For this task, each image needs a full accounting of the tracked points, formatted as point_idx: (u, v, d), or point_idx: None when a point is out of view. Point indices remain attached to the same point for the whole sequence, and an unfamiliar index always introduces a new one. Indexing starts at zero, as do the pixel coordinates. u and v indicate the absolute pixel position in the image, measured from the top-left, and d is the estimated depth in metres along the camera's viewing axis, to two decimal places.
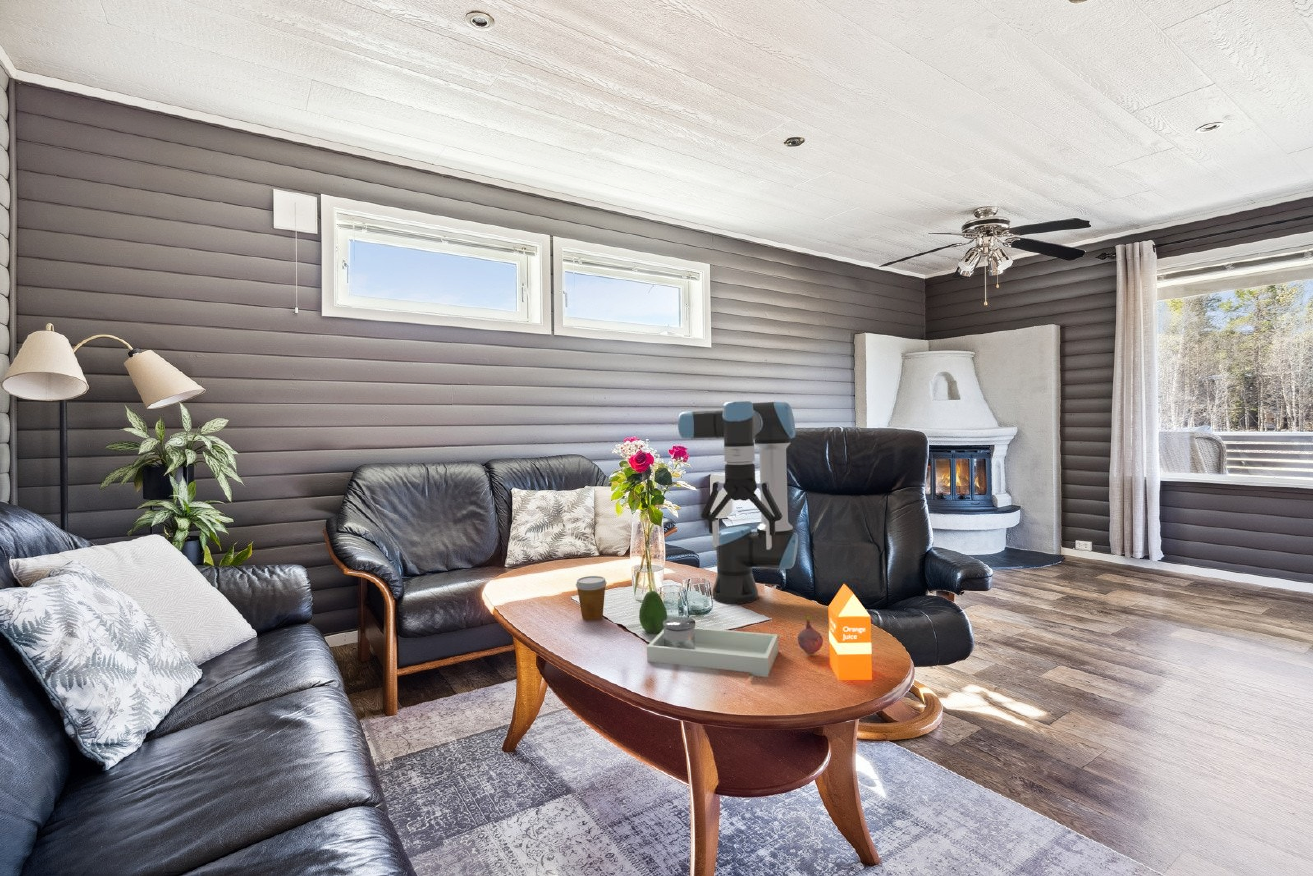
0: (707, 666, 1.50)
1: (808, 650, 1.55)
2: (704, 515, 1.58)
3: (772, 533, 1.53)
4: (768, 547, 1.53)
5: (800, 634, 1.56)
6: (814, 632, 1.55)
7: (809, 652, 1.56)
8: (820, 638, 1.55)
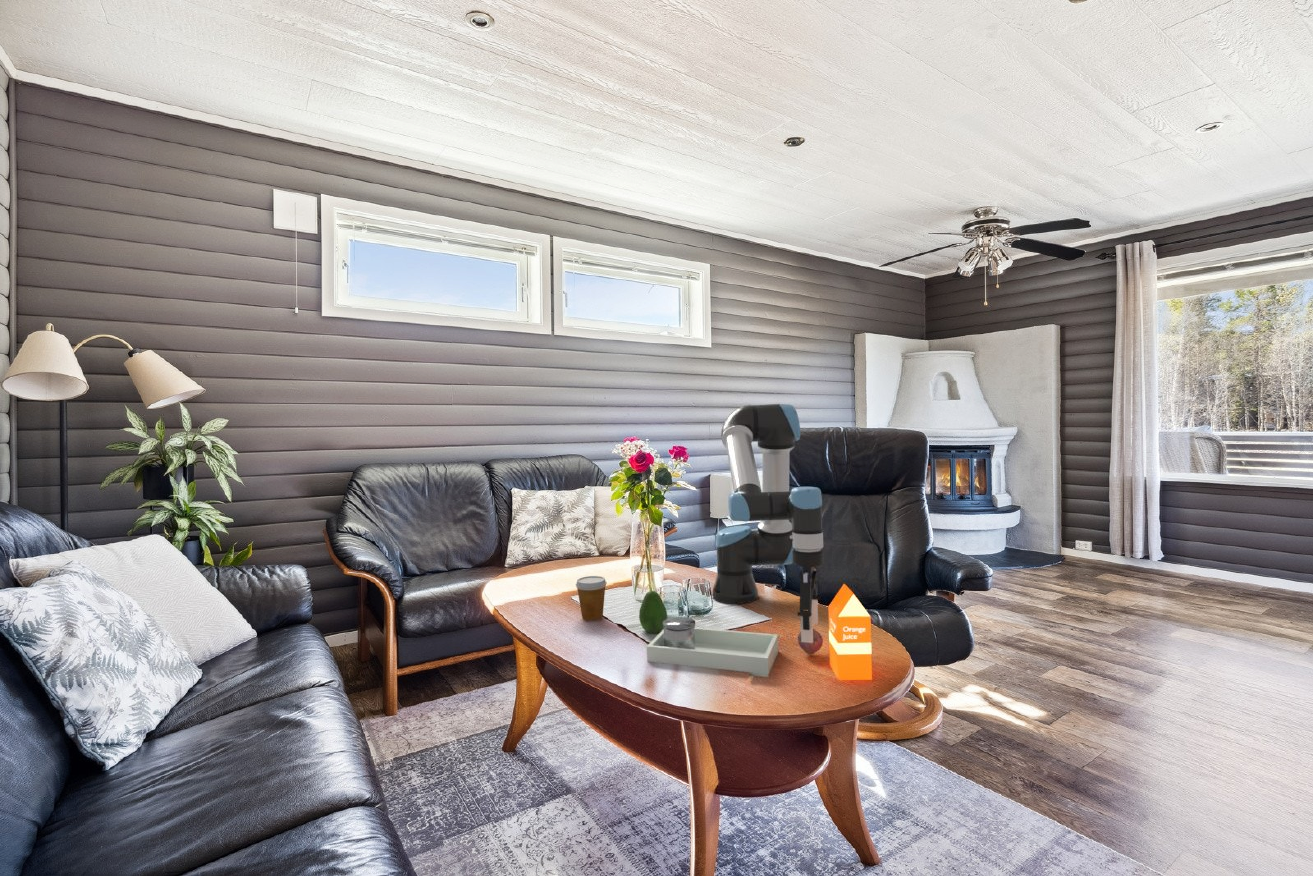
0: (707, 666, 1.50)
1: (808, 650, 1.55)
2: None
3: (803, 627, 1.49)
4: (801, 639, 1.50)
5: (800, 634, 1.56)
6: (814, 632, 1.55)
7: (809, 652, 1.56)
8: (820, 638, 1.55)
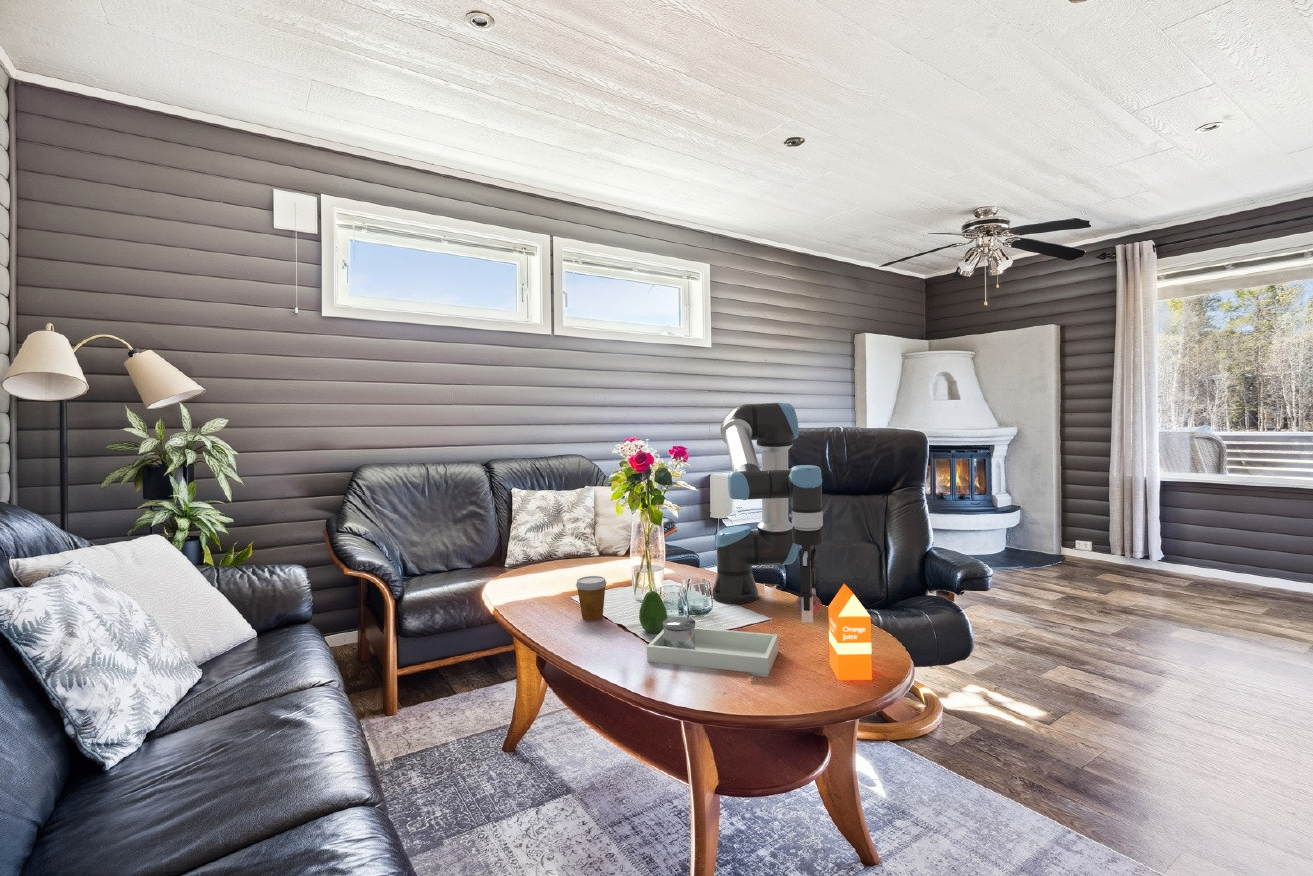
0: (707, 666, 1.50)
1: None
2: None
3: (803, 608, 1.53)
4: None
5: (799, 598, 1.57)
6: (813, 596, 1.56)
7: None
8: (819, 602, 1.55)
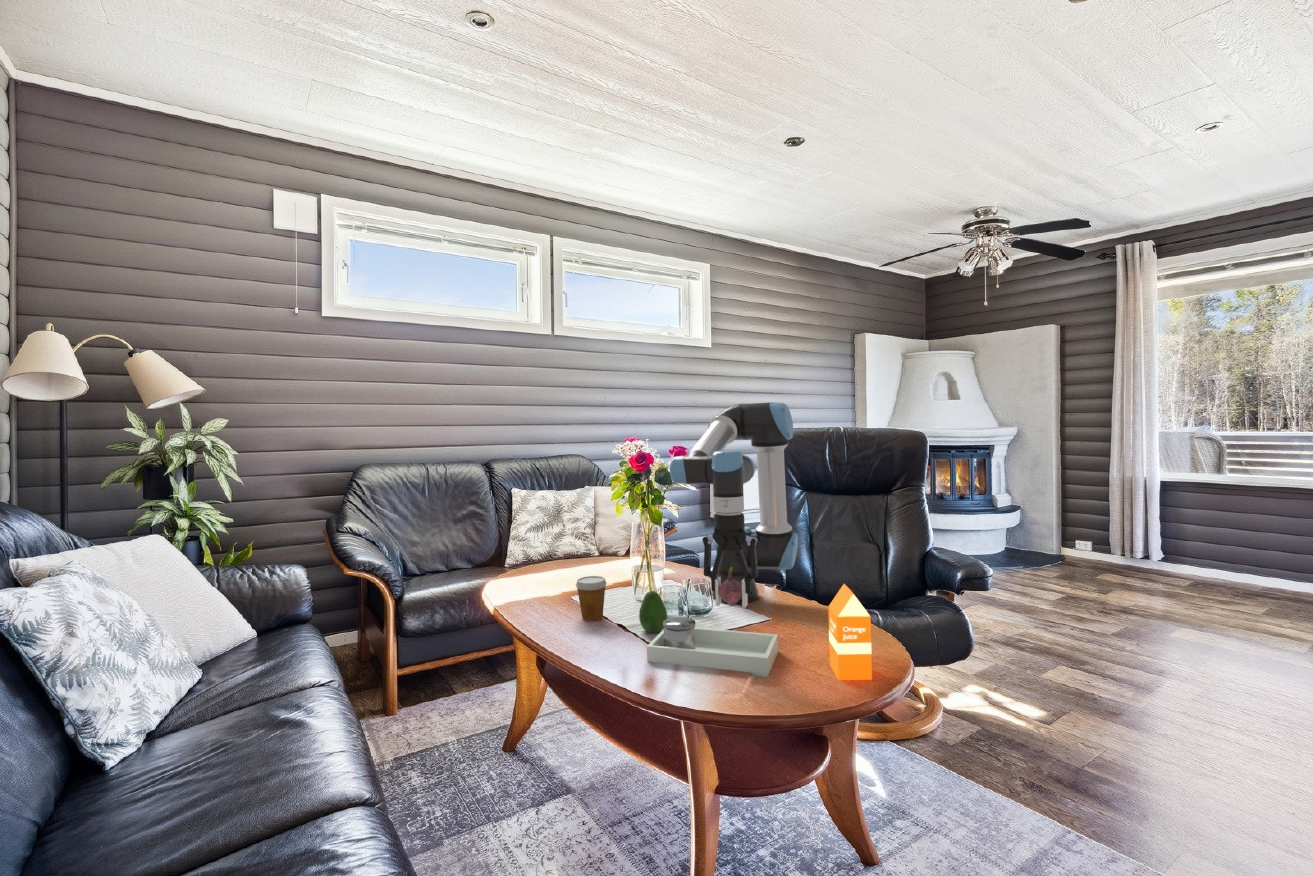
0: (707, 666, 1.50)
1: (739, 599, 1.54)
2: (706, 572, 1.56)
3: (748, 591, 1.53)
4: (744, 605, 1.53)
5: (733, 587, 1.53)
6: None
7: (737, 601, 1.54)
8: None
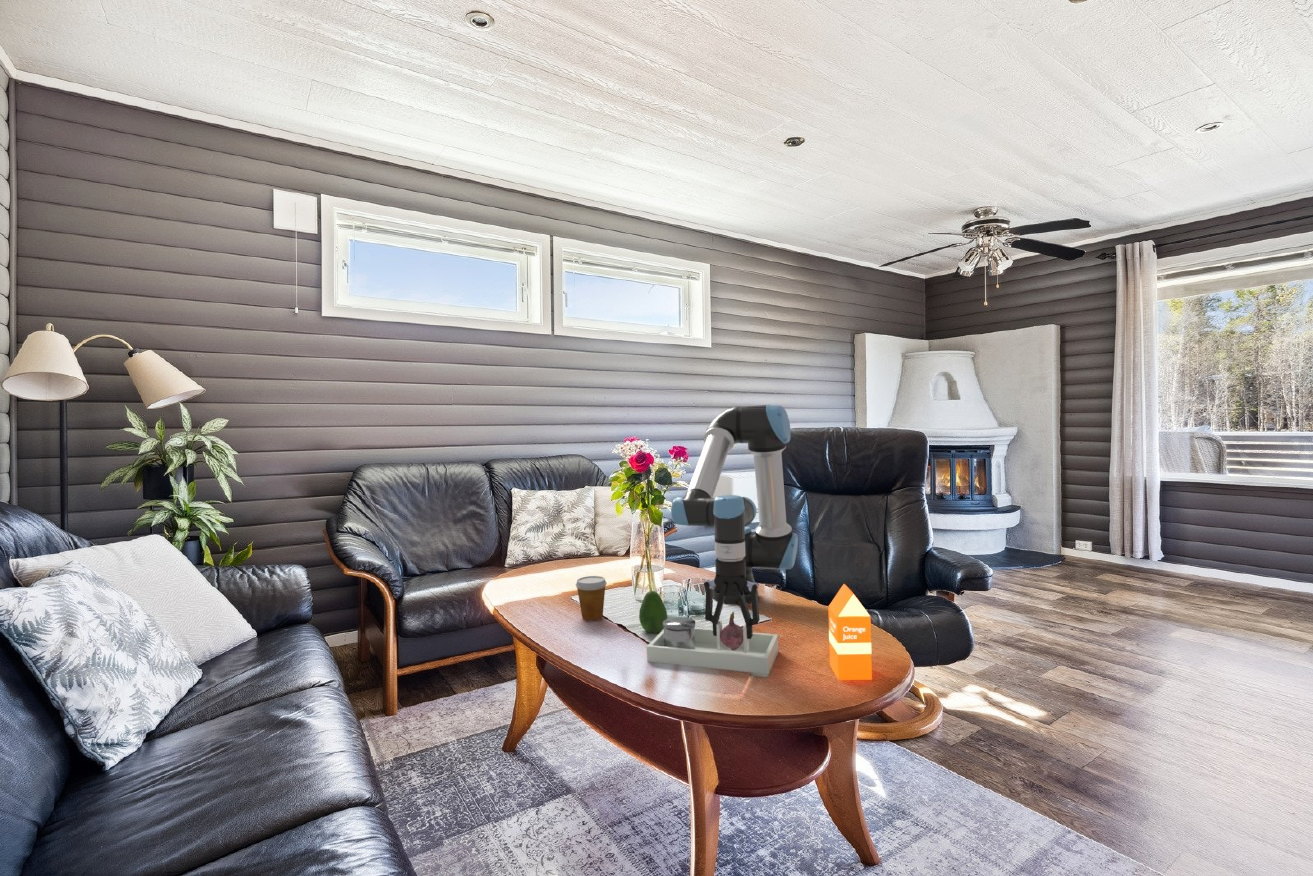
0: (707, 666, 1.50)
1: None
2: (708, 617, 1.56)
3: (749, 637, 1.53)
4: (745, 651, 1.53)
5: (735, 632, 1.53)
6: (737, 625, 1.56)
7: None
8: None
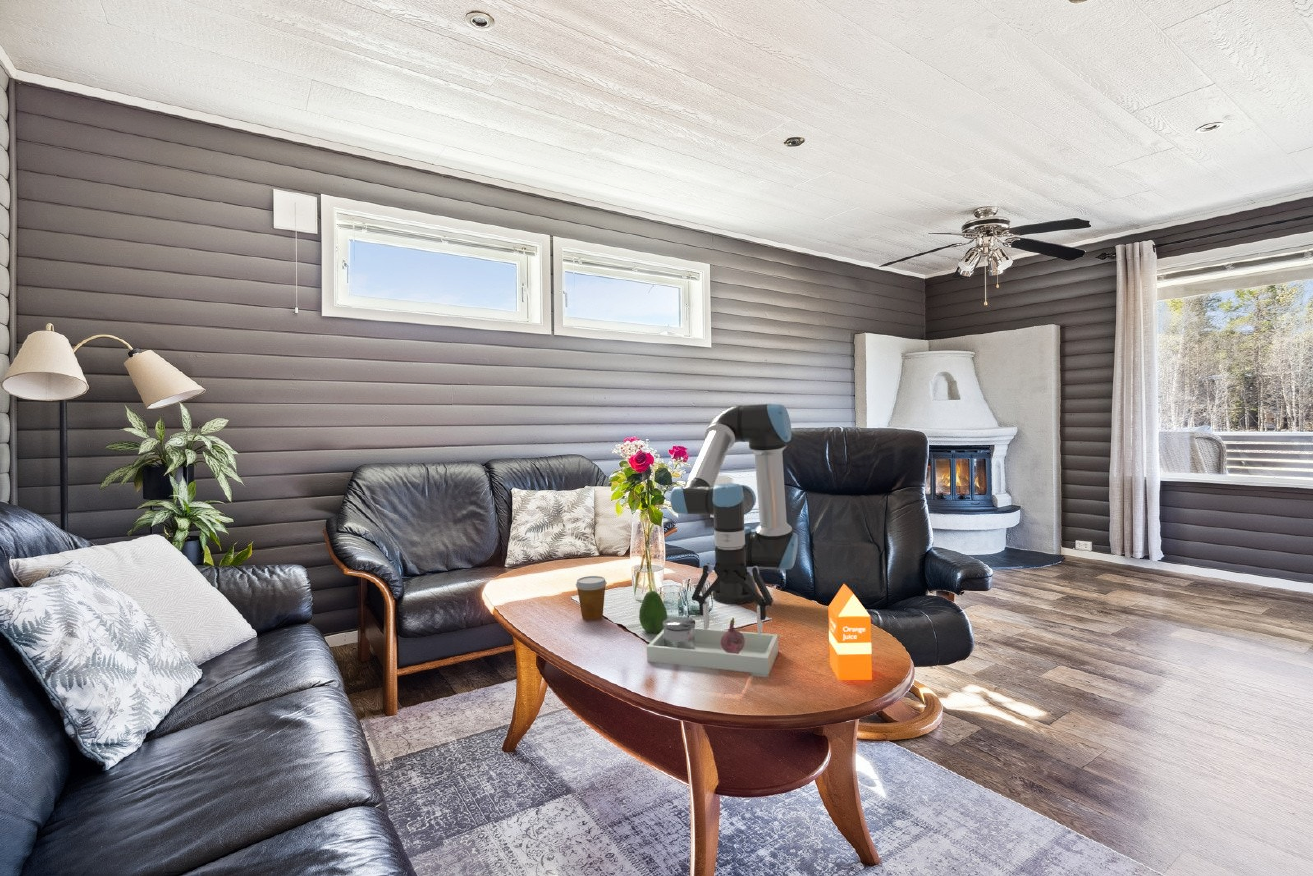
0: (707, 666, 1.50)
1: None
2: (694, 597, 1.57)
3: (763, 618, 1.52)
4: (759, 632, 1.52)
5: (735, 638, 1.53)
6: None
7: None
8: None
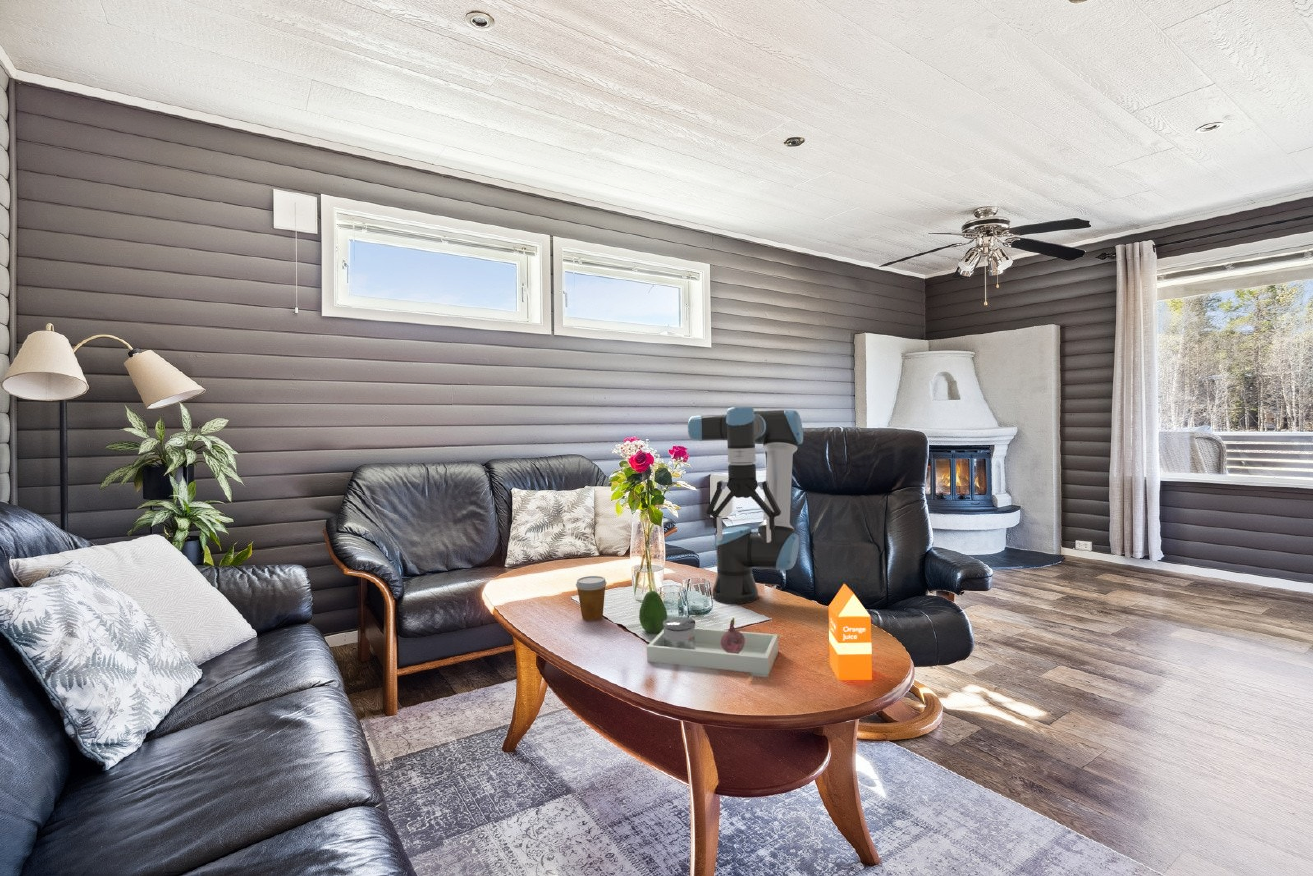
0: (707, 666, 1.50)
1: None
2: (709, 511, 1.72)
3: (772, 527, 1.67)
4: (768, 540, 1.67)
5: (735, 638, 1.53)
6: None
7: None
8: None
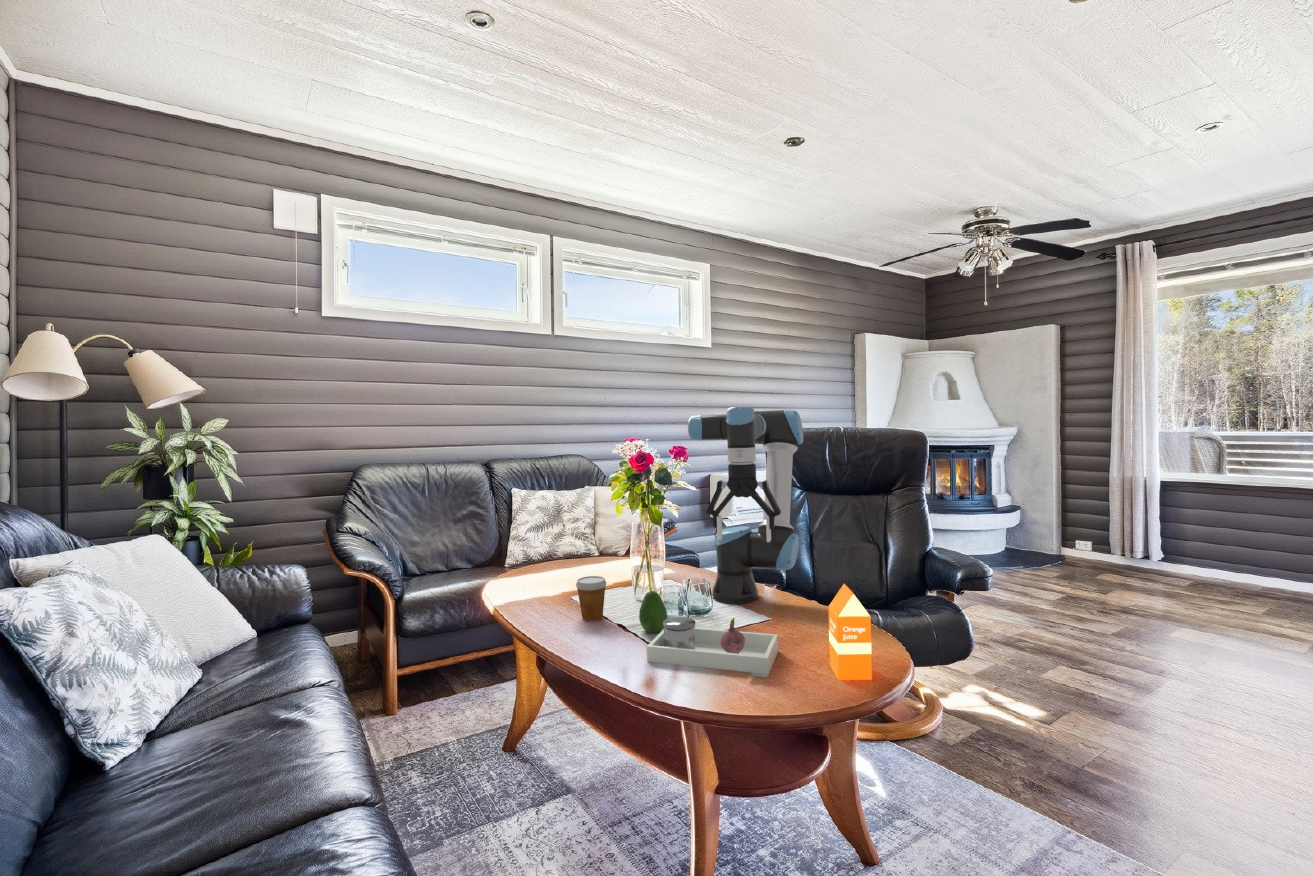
0: (707, 666, 1.50)
1: None
2: (709, 511, 1.72)
3: (772, 527, 1.67)
4: (768, 540, 1.67)
5: (735, 638, 1.53)
6: None
7: None
8: None
